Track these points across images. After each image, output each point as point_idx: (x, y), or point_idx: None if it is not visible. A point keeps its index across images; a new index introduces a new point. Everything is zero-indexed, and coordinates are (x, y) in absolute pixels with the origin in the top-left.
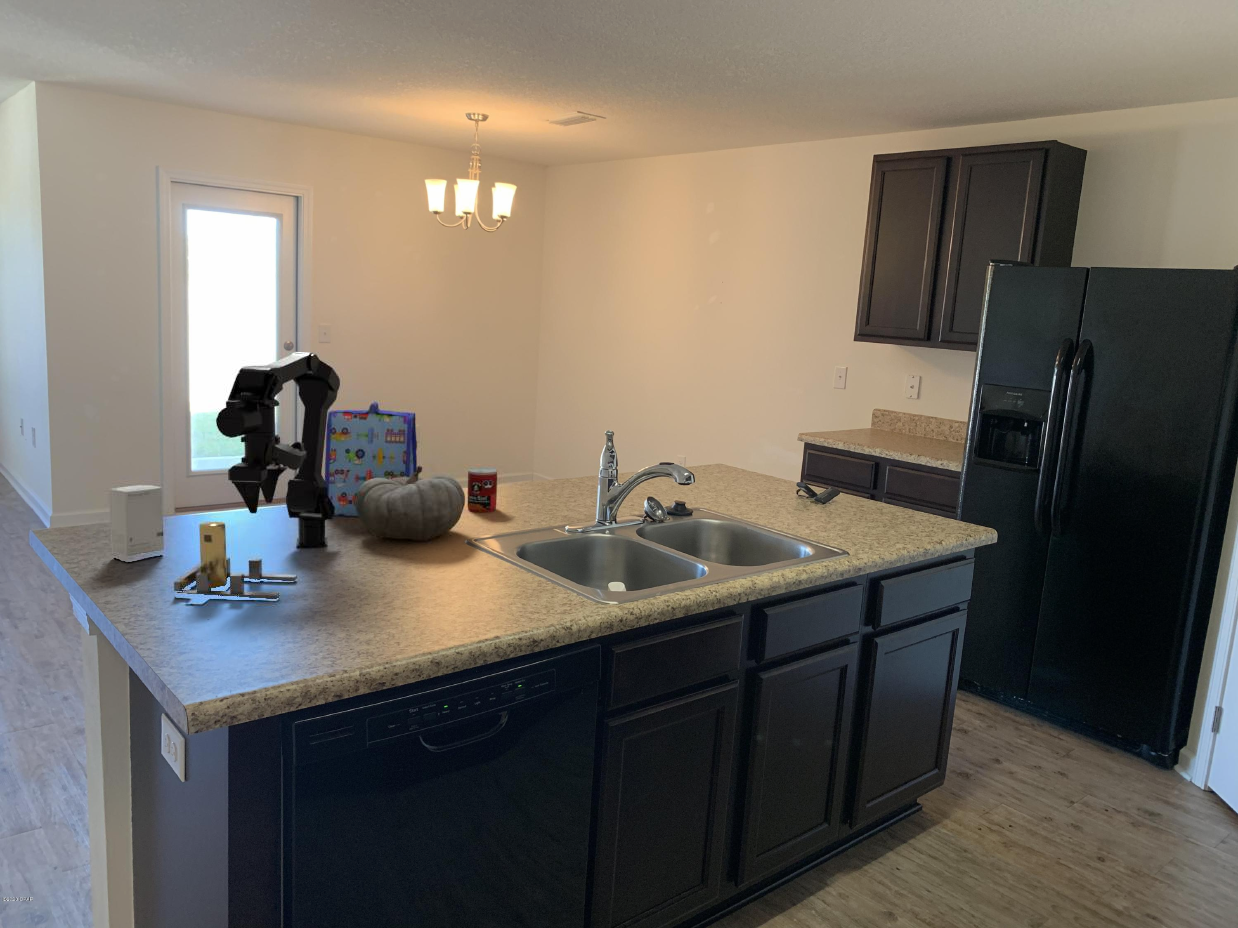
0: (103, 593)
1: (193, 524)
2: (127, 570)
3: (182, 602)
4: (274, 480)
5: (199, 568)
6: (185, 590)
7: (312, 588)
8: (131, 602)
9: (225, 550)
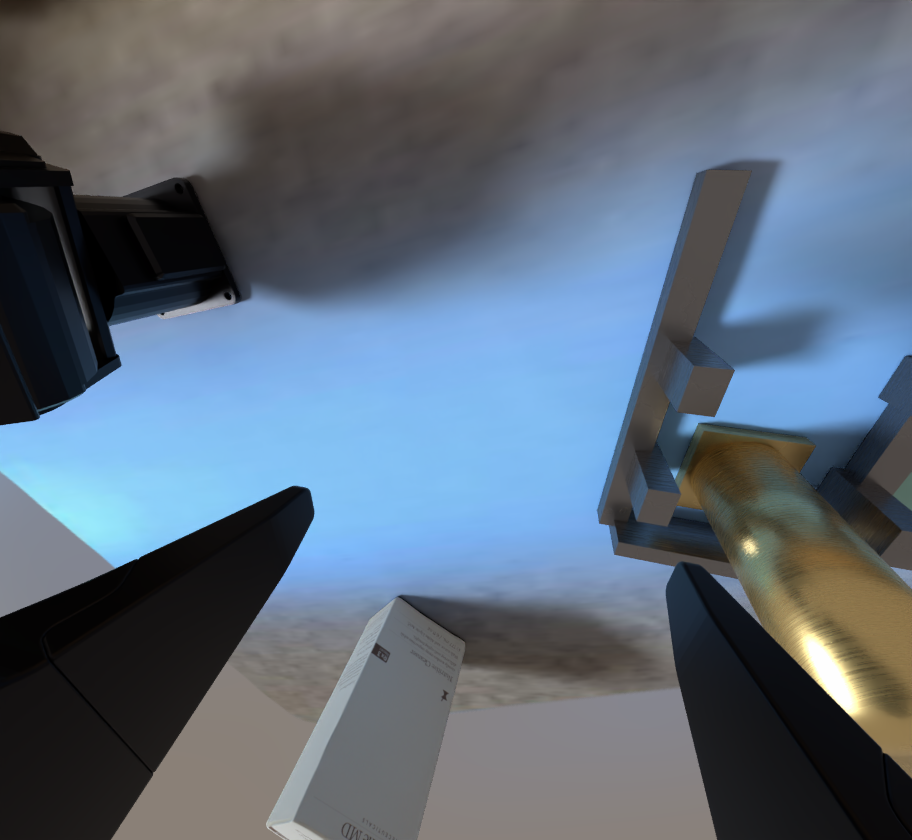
0: None
1: None
2: (514, 640)
3: None
4: (93, 649)
5: (655, 546)
6: None
7: (885, 22)
8: None
9: (840, 543)
